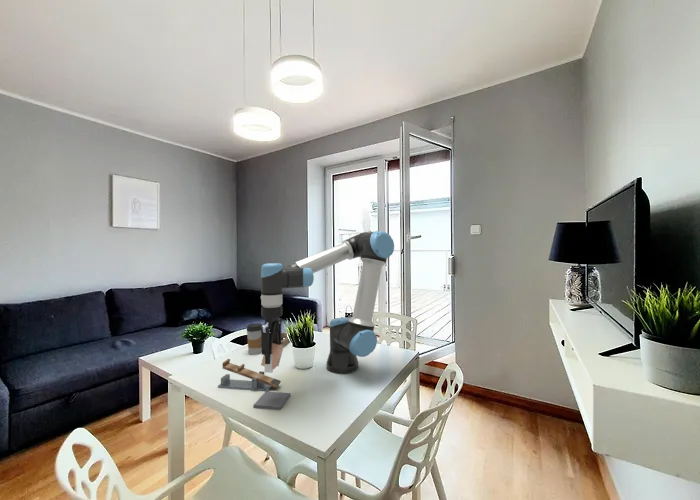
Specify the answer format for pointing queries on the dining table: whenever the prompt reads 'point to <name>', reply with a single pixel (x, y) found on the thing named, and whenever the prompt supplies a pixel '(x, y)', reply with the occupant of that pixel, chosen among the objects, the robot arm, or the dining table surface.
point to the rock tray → (284, 339)
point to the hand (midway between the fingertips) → (272, 368)
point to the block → (275, 355)
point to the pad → (272, 400)
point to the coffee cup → (254, 338)
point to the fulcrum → (244, 384)
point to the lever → (250, 373)
